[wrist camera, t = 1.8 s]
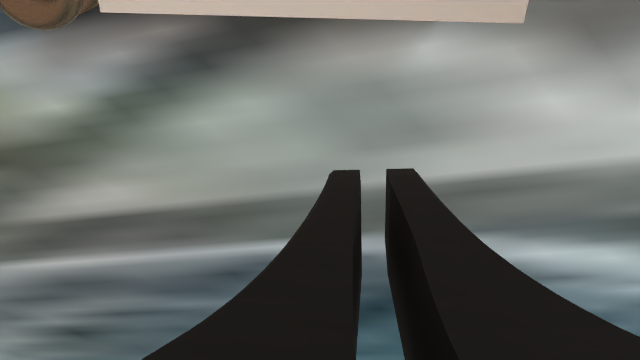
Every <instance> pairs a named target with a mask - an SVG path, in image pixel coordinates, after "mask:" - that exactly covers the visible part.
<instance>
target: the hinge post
mask: <svg viewBox="0 0 640 360" xmlns="http://www.w3.org/2000/svg"><path fill="white" fill-rule="evenodd" d="M97 6H99V3H98V0H0V8H1V9H2V11H3V12H4V13H5V14H7V15H8V16H9V17H10V18H11V19H13V20H14V21H16V22H18V23H19V24H21V25H24V26H26V27H29V28H32V29H37V30H54V29H58V28H61V27H64V26H66V25H68V24H69V23H71V22H72V21H73V20H74V19H75V18H76V17H77V16H78V15H80V14H82V13H84V12H86V11H88V10H91V9H93V8H95V7H97Z"/></svg>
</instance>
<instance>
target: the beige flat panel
mask: <svg viewBox="0 0 640 360" xmlns="http://www.w3.org/2000/svg"><path fill="white" fill-rule="evenodd" d="M528 2H529V0H98V3H99V7H100V11H101V12H109V13H147V14H185V15H223V16H261V17H300V18H338V19H376V20H414V21H453V22H491V23H524V19H525V15H526V10H527V6H528Z"/></svg>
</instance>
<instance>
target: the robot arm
mask: <svg viewBox="0 0 640 360" xmlns="http://www.w3.org/2000/svg"><path fill="white" fill-rule="evenodd" d="M385 245H386V258H387V270H388V278H389V283H390V288H391V293H392V298H393V303H394V308H395V313H396V318H397V323H398V327H399V332H400V337H401V342H402V347H403V352H404V357H405V360H640V337H639V336H636V335H634V334H632V333H630V332H627V331H625V330H623V329H621V328H619V327H617V326H615V325H613V324H611V323H609V322H607V321H605V320H603V319H601V318H599V317H597V316H596V315H594V314H592V313H590V312H588V311H586V310H584V309H582V308H580V307H578V306H577V305H575V304H573V303H571V302H570V301H568V300H566V299H564V298H563V297H561V296H559V295H557V294H556V293H554V292H553V291H551V290H549V289H548V288H546V287H545V286H543V285H541V284H540V283H538V282H537V281H535V280H533V279H532V278H530V277H529V276H527V275H526V274H524V273H523V272H521V271H520V270H518V269H517V268H516V267H514V266H513V265H512V264H510V263H509V262H508V261H506V260H505V259H504V258H502V257H501V256H500V255H498V254H497V253H496V252H494V251H493V250H492V249H490V248H489V247H488V246H487V245H486V244H484V243H483V242H482V241H481V240H480V239H478V238H477V237H476V236H475V235H474V234H473V233H472V232H471V231H470V230H469V229H468V228H467V227H466V226H464V225H463V224H462V223H461V222H460V221H459V220H458V219H457V218H456V216H455V215H454V214H453V213H452V212H451V211H450V210H449V209H448V208H447V207H446V206H445V205H444V204H443V203H442V202H441V201H440V199H439V198H438V197H437V196H436V195H435V194H434V193H433V191H432V190H431V189H430V188H429V187H428V185H427V184H426V183H425V182H424V181H423V179H422V178H421V177H420V175H419V174H418V173H417V172H416V171H415V170H414V169H413V168H412V169H386V214H385ZM361 278H362V252H361V181H360V170H334V171H333V172H332V173H330V174H329V177H328V180H327V182H326V184H325V186H324V188H323V190H322V192H321V194H320V196H319V198H318V200H317V201H316V203H315V205H314V206H313V208H312V209H311V211H310V213H309V214H308V216H307V217H306V219H305V220H304V222H303V223H302V225H301V226H300V227H299V229H298V230H297V231H296V233H295V234H294V235H293V237H292V238H291V239H290V241H289V242H288V243H287V244H286V246H285V247H284V248H283V249H282V250H281V252H280V253H279V254H278V255H277V256H276V257H275V258H274V260H273V261H272V262H271V263H270V264H269V265H268V266H267V267H266V268H265V269H264V270H263V271H262V272H261V273H260V274H259V275H258V276H257V277H256V278H255V279H254V280H253V281H252V282H251V283H249V284H248V285H247V286H246V287H245V288H244V289H243V290H242V291H241V292H240V293H238V294H237V295H236V296H235V297H234V298H233V299H231V300H230V301H229V302H227V303H226V304H225V305H224V306H222V307H221V308H220V309H218V310H217V311H216V312H214V313H213V314H212V315H210V316H209V317H208V318H206V319H205V320H204V321H202V322H201V323H199V324H198V325H196V326H195V327H193V328H192V329H190V330H189V331H187V332H186V333H184V334H182V335H181V336H179V337H177V338H176V339H174V340H173V341H171V342H169V343H168V344H166V345H165V346H163V347H161V348H160V349H158V350H156V351H155V352H153V353H151V354H150V355H148V356H146V357H144V358H143V359H142V360H356V349H357V335H358V321H359V307H360V293H361Z"/></svg>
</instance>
